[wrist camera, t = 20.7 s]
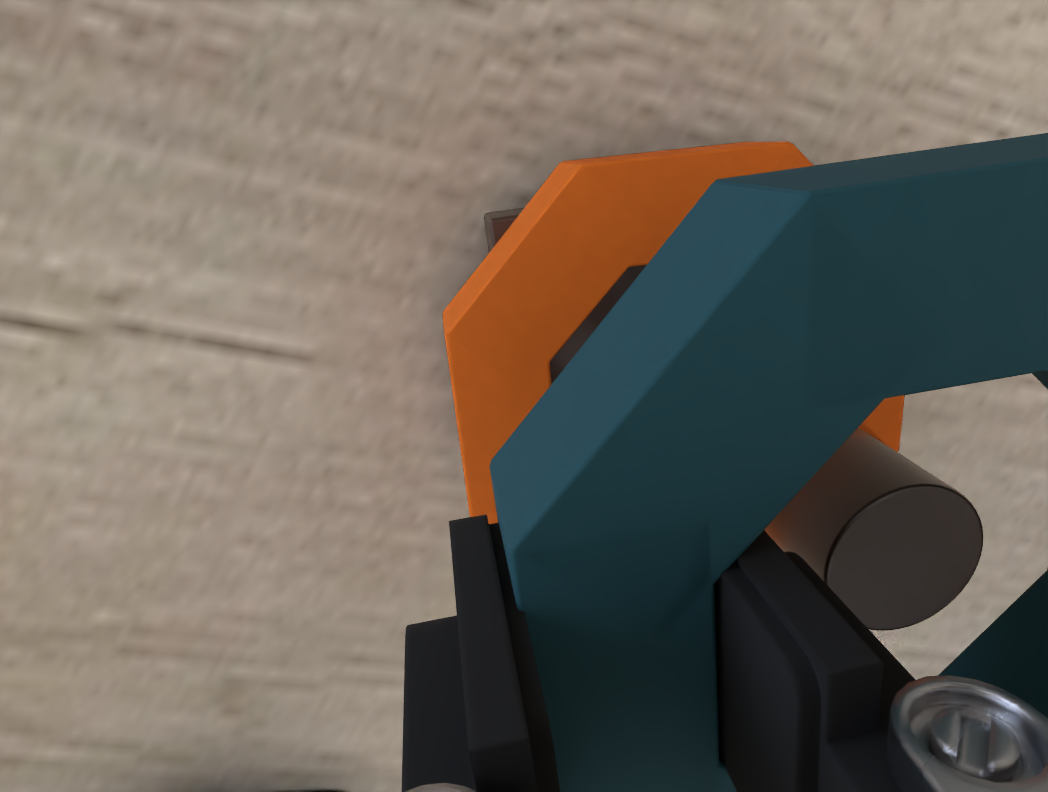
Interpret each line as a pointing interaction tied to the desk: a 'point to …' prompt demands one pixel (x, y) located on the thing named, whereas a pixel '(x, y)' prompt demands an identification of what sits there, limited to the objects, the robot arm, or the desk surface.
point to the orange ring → (578, 284)
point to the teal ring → (755, 428)
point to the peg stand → (852, 511)
